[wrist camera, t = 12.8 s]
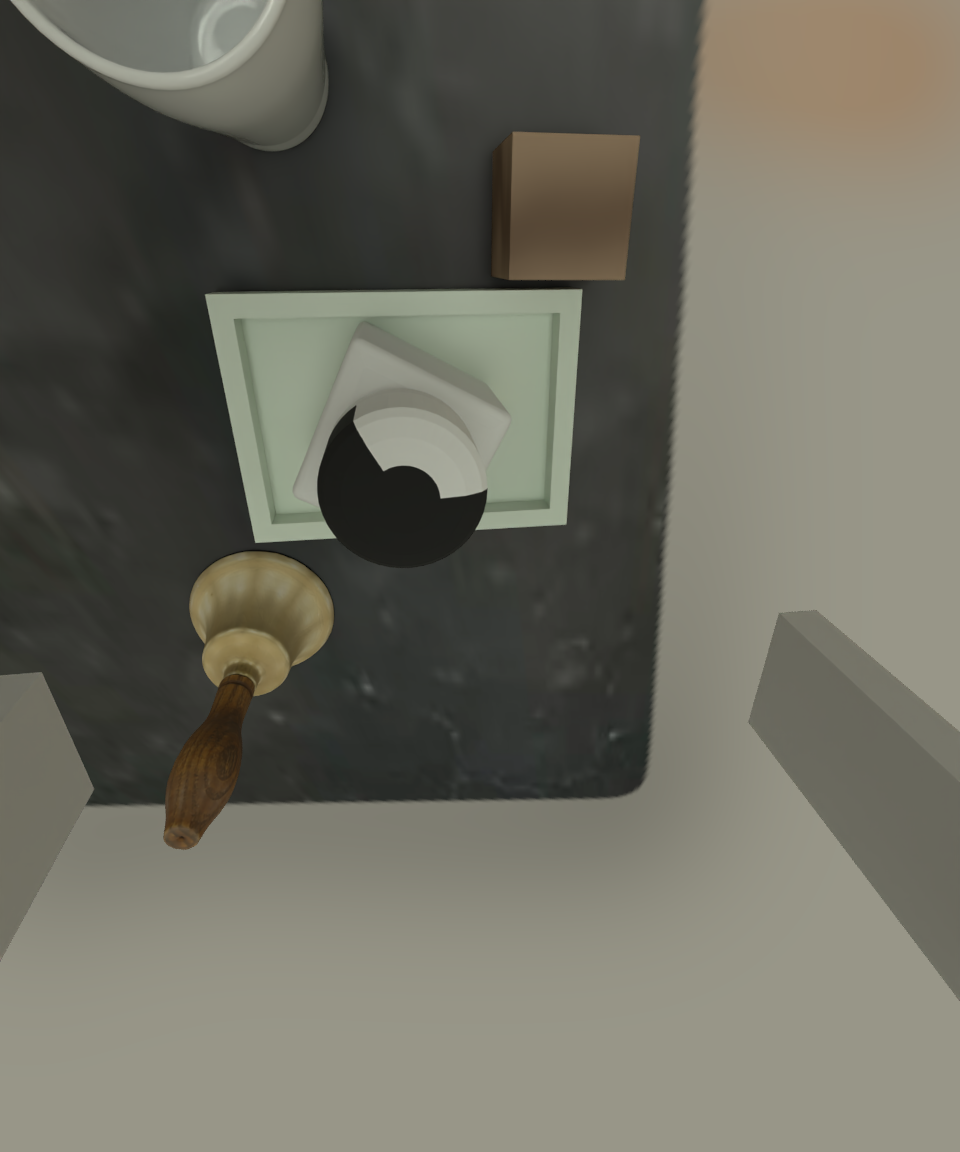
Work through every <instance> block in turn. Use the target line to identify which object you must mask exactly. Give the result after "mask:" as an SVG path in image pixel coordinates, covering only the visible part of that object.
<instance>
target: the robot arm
mask: <svg viewBox="0 0 960 1152" xmlns="http://www.w3.org/2000/svg"><path fill="white" fill-rule="evenodd" d="M749 724H750V725H751V726H752V728H753V729H754V730H755V731H756V733H757V734H758V736H759V737H760V738H761V740H762V741H763V742H764V743H765V745H766V746H767V747H768V749H769V750H770V751H771V753H772V754H773V755H774V757H775V758H776V759H777V761H778V762H779V763H780V765H781V766H782V767H783V768H784V770H785V771H786V772H787V774H788V775H789V776H790V778H791V779H792V780H793V782H794V783H795V784H796V786H797V787H798V788H799V790H800V791H801V792H802V793H803V795H804V796H805V798H806V799H807V800H808V802H809V803H810V804H811V805H812V807H813V808H814V809H815V811H816V812H817V813H818V815H819V816H820V817H821V819H822V820H823V821H824V823H825V824H826V825H827V827H828V828H829V829H830V831H831V832H832V833H833V834H834V836H835V837H836V838H837V840H838V841H839V842H840V844H841V845H842V846H843V848H844V849H845V850H846V852H847V853H848V854H849V856H850V857H851V858H852V860H853V861H854V862H855V864H856V865H857V866H858V867H859V869H860V870H861V871H862V873H863V874H864V875H865V877H866V878H867V879H868V881H869V882H870V883H871V884H872V886H873V887H874V889H875V890H876V891H877V892H878V894H879V895H880V896H881V898H882V899H883V900H884V902H885V903H886V904H887V906H888V907H889V908H890V910H891V911H892V912H893V914H894V915H895V916H896V918H897V919H898V920H899V921H900V923H901V924H902V926H903V927H904V928H905V929H906V931H907V932H908V933H909V935H910V936H911V937H912V939H913V940H914V941H915V943H916V944H917V945H918V946H919V948H920V949H921V951H922V952H923V953H924V955H925V956H926V957H927V958H928V960H929V961H930V962H931V964H932V965H933V966H934V968H935V969H936V970H937V971H938V973H939V974H940V976H941V977H942V978H943V980H944V981H945V982H946V983H947V985H948V986H949V988H950V989H951V990H952V991H953V993H954V994H955V995H956V997H957V998H958V999H959V1001H960V732H959V731H958V730H957V729H956V728H955V727H953V726H952V725H951V724H950V723H949V722H948V721H946V720H945V719H944V718H943V717H942V716H940V715H939V714H938V713H937V712H936V711H935V710H933V709H932V708H931V707H930V706H929V705H927V704H926V703H925V702H924V701H923V700H922V699H920V698H919V697H918V696H917V695H916V694H915V693H913V692H912V691H911V690H910V689H909V688H907V687H906V686H905V685H904V684H903V683H902V682H900V681H899V680H898V679H897V678H896V677H894V676H893V675H892V674H891V673H890V672H889V671H887V670H886V669H885V668H884V667H883V666H881V665H880V664H879V663H878V662H877V661H875V660H874V659H873V658H872V657H871V656H870V655H869V654H867V653H866V652H865V651H864V650H863V649H861V648H860V647H859V646H858V645H857V644H855V643H854V642H853V641H852V640H851V639H850V638H848V637H847V636H846V635H845V634H844V633H842V632H841V631H840V630H839V629H838V628H837V627H835V626H834V625H833V624H832V623H831V622H829V621H828V620H827V619H826V618H825V617H824V616H822V615H821V614H820V613H819V612H818V611H817V610H811V611H798V612H786V613H779V615H778V619H777V622H776V626H775V629H774V633H773V637H772V640H771V643H770V647H769V651H768V654H767V658H766V661H765V665H764V668H763V672H762V676H761V679H760V683H759V686H758V690H757V693H756V697H755V700H754V704H753V708H752V711H751V715H750V718H749ZM93 790H94V788H93V786H92V783H91V781H90V779H89V777H88V774H87V772H86V770H85V768H84V766H83V763H82V761H81V759H80V757H79V754H78V752H77V750H76V748H75V746H74V743H73V741H72V739H71V737H70V734H69V732H68V730H67V728H66V725H65V723H64V721H63V719H62V717H61V714H60V712H59V710H58V708H57V705H56V703H55V701H54V699H53V697H52V694H51V692H50V690H49V688H48V685H47V683H46V681H45V679H44V677H43V674H42V672H39V673H26V674H14V675H1V676H0V961H1V959H2V957H3V955H4V954H5V952H6V949H7V948H8V946H9V944H10V943H11V941H12V939H13V937H14V935H15V933H16V932H17V930H18V928H19V926H20V924H21V922H22V921H23V919H24V917H25V915H26V913H27V911H28V909H29V908H30V906H31V904H32V902H33V900H34V898H35V896H36V895H37V892H38V891H39V889H40V887H41V886H42V884H43V882H44V880H45V878H46V876H47V874H48V873H49V871H50V869H51V867H52V865H53V864H54V862H55V860H56V858H57V856H58V854H59V853H60V851H61V849H62V847H63V845H64V843H65V841H66V840H67V838H68V836H69V834H70V832H71V830H72V829H73V827H74V825H75V823H76V821H77V819H78V818H79V816H80V814H81V812H82V810H83V808H84V807H85V805H86V803H87V801H88V799H89V797H90V796H91V794H92V792H93Z"/></svg>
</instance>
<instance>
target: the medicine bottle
mask: <svg viewBox="0 0 960 1152" xmlns="http://www.w3.org/2000/svg"><path fill="white" fill-rule="evenodd" d="M511 420H512V419H511V416H510V414H509V413H508V411H507V410H506V409H505V407H504V406H503V405H502V403H501V402H500V401H499V399H498V398H497V397H496V395H495V394H494V393H493V391H492V390H491V389H490V387H489V386H488V385H487V384H486V383H484V382H482V381H480V380H478V379H476V378H474V377H473V376H471V375H469V374H467V373H465V372H463V371H461V370H459V369H457V368H455V367H453V366H451V365H449V364H448V363H446V362H444V361H442V360H440V359H438V358H436V357H434V356H432V355H430V354H428V353H426V352H424V351H422V350H421V349H419V348H417V347H415V346H413V345H411V344H409V343H407V342H405V341H403V340H401V339H399V338H397V337H396V336H394V335H392V334H390V333H388V332H386V331H384V330H382V329H380V328H378V327H376V326H374V325H372V324H371V323H369V322H365V321H363V322H361V323H360V324H359V325H358V326H357V329H356V331H355V333H354V335H353V338H352V340H351V342H350V345H349V347H348V350H347V352H346V355H345V357H344V360H343V362H342V365H341V367H340V370H339V372H338V375H337V377H336V380H335V382H334V385H333V387H332V390H331V393H330V395H329V398H328V400H327V403H326V405H325V408H324V410H323V413H322V415H321V418H320V420H319V423H318V425H317V428H316V430H315V433H314V435H313V438H312V440H311V443H310V445H309V448H308V450H307V453H306V456H305V458H304V461H303V463H302V466H301V468H300V471H299V473H298V476H297V478H296V481H295V483H294V486H293V491H292V492H293V494H294V496H295V497H296V498H297V499H299V500H302V501H304V502H307V503H309V504H312V505H314V506H317V507H319V508H320V509H321V512H322V515H323V517H324V519H325V522H326V524H327V525H328V527H329V528H330V530H331V531H332V533H333V534H334V535H335V537H336V538H337V539H338V540H339V541H340V542H341V543H342V544H343V545H344V546H345V547H346V548H348V549H349V550H350V551H352V552H353V553H355V554H356V555H358V556H359V557H361V558H363V559H365V560H367V561H370V562H373V563H376V564H379V565H383V566H388V567H396V568H412V567H418V566H424V565H427V564H431V563H434V562H436V561H439V560H441V559H443V558H445V557H447V556H448V555H450V554H452V553H453V552H455V551H456V550H457V549H458V548H460V547H461V546H462V545H463V544H464V543H465V542H466V541H467V540H468V539H469V538H470V536H471V535H472V534H473V532H474V531H475V530H476V528H477V526H478V524H479V522H480V520H481V518H482V515H483V513H484V510H485V505H486V501H487V490H488V487H487V476H486V470H487V468H488V466H489V464H490V462H491V460H492V458H493V457H494V455H495V453H496V451H497V449H498V447H499V445H500V443H501V441H502V439H503V438H504V436H505V434H506V432H507V430H508V428H509V426H510V424H511Z"/></svg>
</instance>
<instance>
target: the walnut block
mask: <svg viewBox="0 0 960 1152" xmlns="http://www.w3.org/2000/svg"><path fill="white" fill-rule="evenodd" d="M639 142H640V136H632V135H600V134H568V133H536V132H512V133H511V134H510V135H509V136H508V137H507V138H506V139H505V140H504V141H503V142H502V143H501V144H500V145H499V146H498V147H497V148H496V149H495V150H494V151H493V177H492V256H491V276H492V277H497V278H502V279H507V280H625V272H626V263H627V254H628V244H629V235H630V226H631V216H632V207H633V198H634V188H635V179H636V170H637V160H638V151H639Z"/></svg>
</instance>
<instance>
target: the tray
mask: <svg viewBox="0 0 960 1152" xmlns="http://www.w3.org/2000/svg"><path fill="white" fill-rule="evenodd" d="M205 297H206V302H207V307H208V312H209V317H210V322H211V327H212V331H213V336H214V341H215V346H216V351H217V356H218V361H219V366H220V371H221V376H222V381H223V386H224V391H225V395H226V400H227V405H228V410H229V415H230V420H231V425H232V430H233V435H234V440H235V445H236V450H237V455H238V459H239V464H240V469H241V474H242V479H243V484H244V489H245V494H246V499H247V504H248V509H249V514H250V519H251V523H252V528H253V533H254V538H255V543H261V542H278V541H295V540H312V539H329V538H336V537H335V535H334V534H333V533H332V531H331V530H330V528H329V527H328V525H327V524H326V522H325V519H324V517H323V515H322V512H321V509H320V508H319V507H317V506H314V505H312V504H309V503H307V502H304V501H302V500H299V499H297V498H296V497H295V496H294V494H293V492H292V491H293V486H294V483H295V481H296V478H297V476H298V473H299V471H300V468H301V466H302V463H303V461H304V458H305V456H306V453H307V450H308V448H309V445H310V443H311V440H312V438H313V435H314V433H315V430H316V428H317V425H318V423H319V420H320V418H321V415H322V413H323V410H324V408H325V405H326V403H327V400H328V398H329V395H330V393H331V390H332V387H333V385H334V382H335V380H336V377H337V375H338V372H339V370H340V367H341V365H342V362H343V360H344V357H345V355H346V352H347V350H348V347H349V345H350V342H351V340H352V338H353V335H354V333H355V331H356V329H357V326H358V325H359V324H360V323H361V322H363V321H365V322H369V323H371V324H372V325H374V326H376V327H378V328H380V329H382V330H384V331H386V332H388V333H390V334H392V335H394V336H396V337H397V338H399V339H401V340H403V341H405V342H407V343H409V344H411V345H413V346H415V347H417V348H419V349H421V350H422V351H424V352H426V353H428V354H430V355H432V356H434V357H436V358H438V359H440V360H442V361H444V362H446V363H448V364H449V365H451V366H453V367H455V368H457V369H459V370H461V371H463V372H465V373H467V374H469V375H471V376H473V377H474V378H476V379H478V380H480V381H482V382H484V383H486V384H487V385H488V386H489V387H490V389H491V390H492V391H493V393H494V394H495V395H496V397H497V398H498V399H499V401H500V402H501V403H502V405H503V406H504V407H505V409H506V410H507V411H508V413H509V414H510V416H511V419H512V420H511V424H510V426H509V428H508V430H507V432H506V434H505V436H504V438H503V439H502V441H501V443H500V445H499V447H498V449H497V451H496V453H495V455H494V457H493V458H492V460H491V462H490V464H489V466H488V468H487V470H486V476H487V487H488V490H487V501H486V505H485V510H484V513H483V515H482V518H481V520H480V522H479V524H478V526H477V528H476V530H481V529H498V528H515V527H532V526H549V525H566V521H567V506H568V492H569V477H570V463H571V448H572V434H573V419H574V405H575V390H576V375H577V361H578V346H579V332H580V317H581V303H582V289H578V288H572V287H556V288H477V289H399V290H321V291H243V292H213V293H209V294H205Z"/></svg>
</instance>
